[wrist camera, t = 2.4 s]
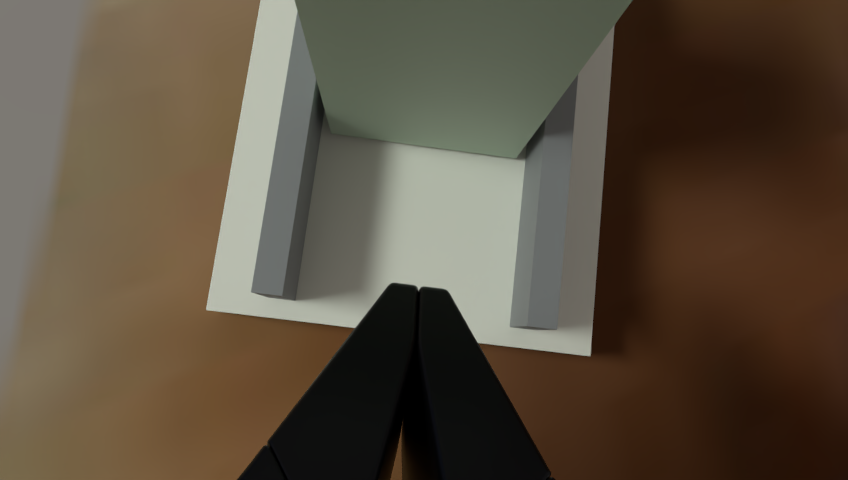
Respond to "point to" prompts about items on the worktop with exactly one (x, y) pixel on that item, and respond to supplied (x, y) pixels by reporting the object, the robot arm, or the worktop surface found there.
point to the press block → (450, 66)
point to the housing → (409, 210)
